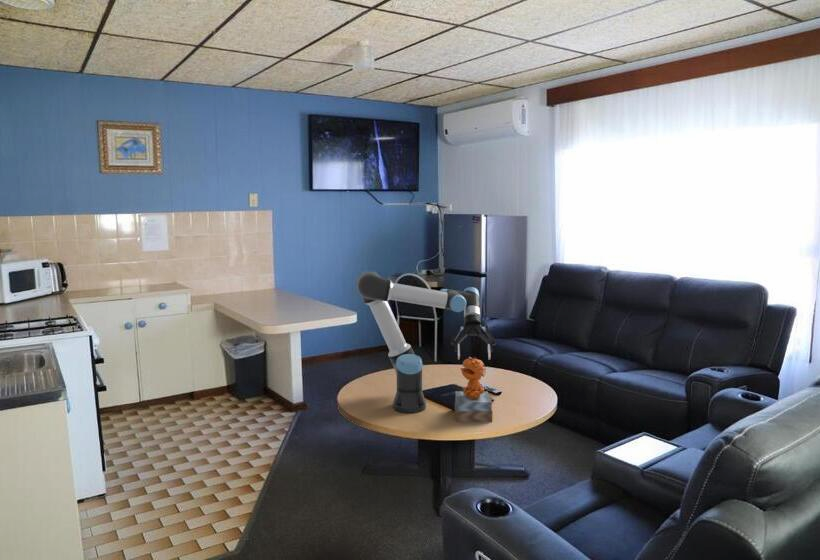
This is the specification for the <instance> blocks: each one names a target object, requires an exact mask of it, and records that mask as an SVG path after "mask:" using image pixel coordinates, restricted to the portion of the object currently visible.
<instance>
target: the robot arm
mask: <svg viewBox="0 0 820 560" xmlns="http://www.w3.org/2000/svg"><path fill="white" fill-rule="evenodd" d="M357 276H358V277H357V278H356V283H355V284H356V289H357V291H358V293H359V295H360V297H361V298H362V301H363V303H364V305H367V306H369V308H370V311H371V313H372V314H373V317H374V319H375V321H376V323H377V325H378V328H379V330H380V333H381V335H382V338H383V339H384V341H385V343H386V346H387V348H388V350H389V352H388V353H387V355H388V358H389V361H390V363H391V364H392V366H393V369H394V371H395V376H396V391H395V395H394V397H393V401H392V409H394V411H396V412H399V413H406V414H414V413H420V412H423V411H425V410H426V408H427V402H426V398H425V396H424V392H423V361H422V358H421V357H420V356H419V355H416V354H415V351H414V350H413V348H412V346H411V344H409V343H407V342H406V339H405V338H404V335H403V332H402V331H401V329H400V327H399V324H398V322H397V320H396V318H395V315H394V312H393V311H392V308H391V306H390V304H389V301H397V302H402V303H403V302H404V303H408V304H414V305H415V304H416V305H421V306H426V307H427V306H428V307H432V308H439V309H445V310H450V311H453V312H456V313H461V312H463V317H464V319H463V321H464V326H461V325H460V324H458V325H457V329H456V331H455V332H454V335H453V336H452V339H451V342H450V345H451V346H454V351H455V353H457V360H460V357H461V351H460V350H461V349H460V348H461V347H460V344H461V342H463V341H464V340H465V339H466V338H467V337H468V336H469V337H479V338H480V339H481V340H482V341H484V343H486V344H487V354H488V355H487V357H488V360H489V361H490V360H491V357H492V356H491V353H493V351H494V350H493V346H496V345H497V340H496V338H495V337H494V335H493V334H492V333H491V331H490V329H489V326H488V324H486V325H485V326H483V325H482V324H481V323H482V321H481V307H480V306H481V304H480V299H481V298H480V293H479V290H478V289H477V288H476V287H473V286H470V287H466V288H464V290H463V291H462V290H455V289H448V288H441V289H440V290H436V289H431V288H425V287H419V286H413V285H407V284H401V283H395V282H393V281H392V280H391V279H387V278H383V277H381V276H380V275H379V273H378V272H376V271H374V270H364V271H362V272H361V273H360V274H359V275H357ZM482 330H483V331H482ZM462 331H464V332H463V333H462V334H461V332H462ZM483 332H485V333H483ZM460 334H461V335H460ZM485 334H486V335H487V336H486V335H485ZM459 335H460V336H459ZM458 337H459V338H458Z"/></svg>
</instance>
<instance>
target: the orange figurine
mask: <svg viewBox="0 0 820 560" xmlns="http://www.w3.org/2000/svg"><path fill="white" fill-rule="evenodd" d="M462 367H463V368H462ZM462 367H461V368H460V370H461V374H462V376H463V377H464V379H466V380H469V381H467V385H466V386H464V387H462V391H463V395H465V394H466V396H467V397H468V398H471V399H477V398H479V397H480V394H482V393H484V391H485V387H482V386H481V383H480V380H481V378H482V377H485V375H486V373H485V371H486V366H485V364H484V362H483V361H482V360H481V359H478V358H477V357H474V358H473V357H471V356H468V358H466V359H464V360H463V362H462Z"/></svg>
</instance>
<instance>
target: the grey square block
mask: <svg viewBox="0 0 820 560" xmlns="http://www.w3.org/2000/svg"><path fill="white" fill-rule="evenodd" d="M492 403H493V402H492V399H491V397H490V394H489V392H488V391H485V390H484V393H482V394H480V397H479V398H477V399H471V398H468V397H467V396H466V394H465V395H463V390H462V391H457V390H455V399H454V413H455V417H456V418H455V419H456V422H457V423H459V422H463V423H465V422H466V423H467V422H468V423H469V422H471V423H472V422H473V423H474V422H475V423H476V422H477V423H479V422H480V423H484V422H485V423H486V422H487V423H490V422H491V423H492V422H493V408H492V407H493V404H492Z"/></svg>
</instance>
